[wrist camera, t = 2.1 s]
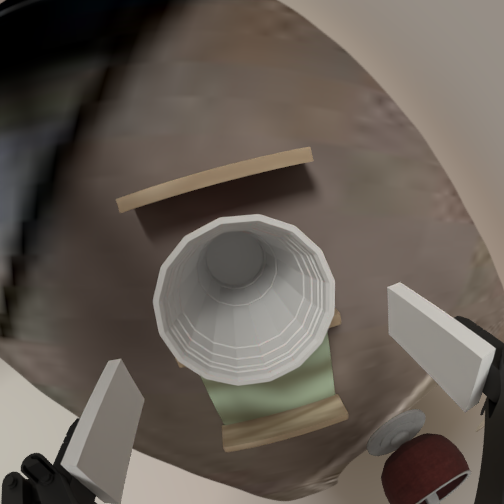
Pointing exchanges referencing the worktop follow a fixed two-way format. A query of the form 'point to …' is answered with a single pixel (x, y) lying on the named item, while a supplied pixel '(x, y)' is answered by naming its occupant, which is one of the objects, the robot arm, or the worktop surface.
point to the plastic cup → (244, 299)
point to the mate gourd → (417, 461)
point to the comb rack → (284, 387)
